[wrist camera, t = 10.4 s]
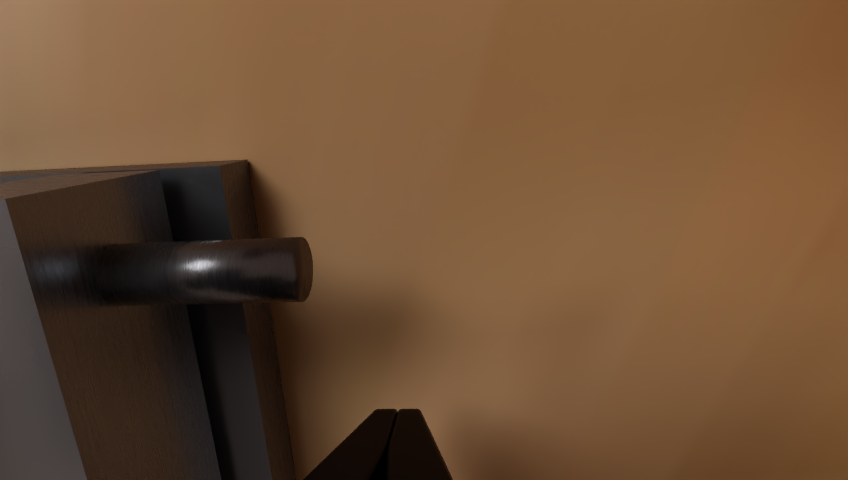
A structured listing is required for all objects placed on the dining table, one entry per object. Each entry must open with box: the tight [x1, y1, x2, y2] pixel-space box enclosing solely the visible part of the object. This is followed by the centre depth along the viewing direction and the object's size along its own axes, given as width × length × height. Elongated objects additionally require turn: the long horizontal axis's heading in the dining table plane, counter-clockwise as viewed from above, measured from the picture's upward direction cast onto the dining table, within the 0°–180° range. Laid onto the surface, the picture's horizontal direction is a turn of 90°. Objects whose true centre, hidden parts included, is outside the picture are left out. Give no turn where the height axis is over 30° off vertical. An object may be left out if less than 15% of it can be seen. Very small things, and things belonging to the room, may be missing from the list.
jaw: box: [0, 170, 313, 480], centre depth 8 cm, size 5×10×3 cm, turn 3°
